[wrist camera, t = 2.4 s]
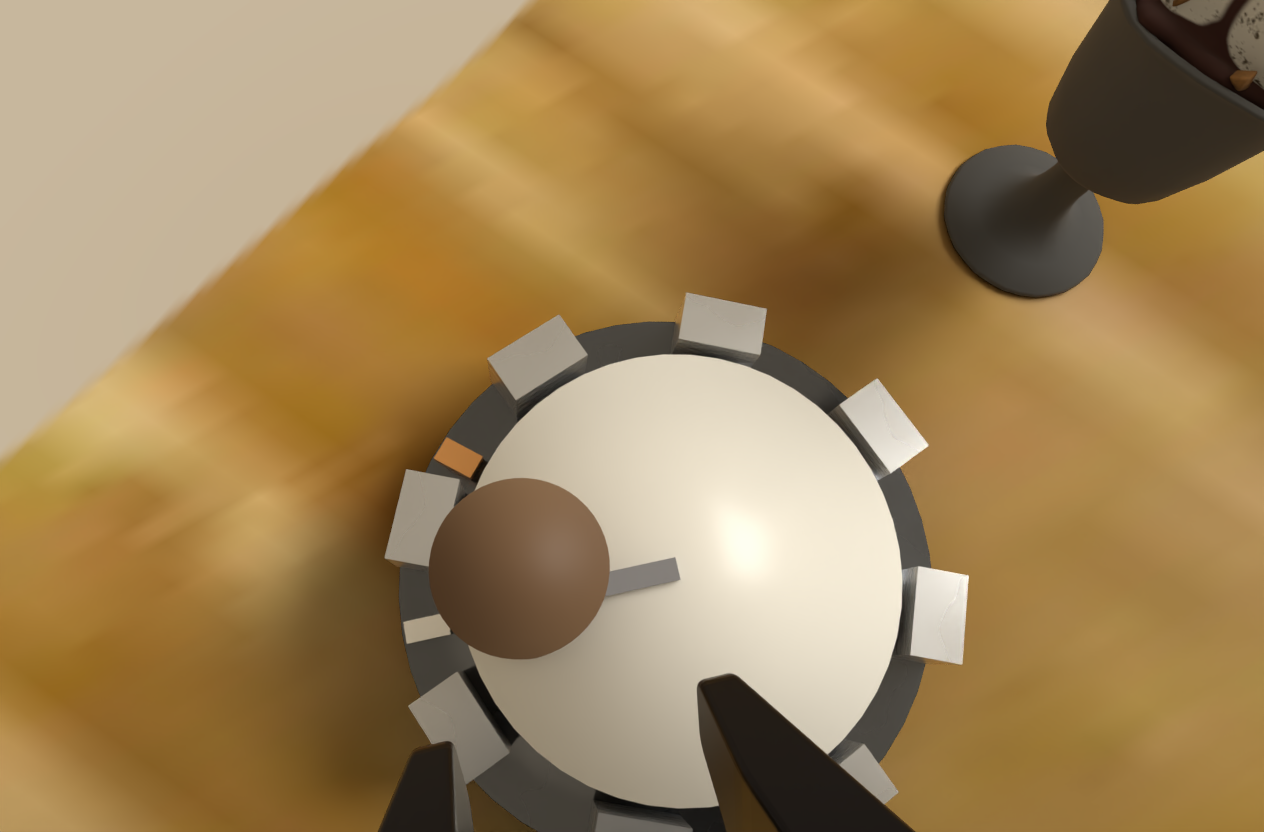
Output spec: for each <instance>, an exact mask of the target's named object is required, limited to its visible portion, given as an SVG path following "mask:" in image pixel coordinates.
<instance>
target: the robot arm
mask: <svg viewBox="0 0 1264 832" xmlns="http://www.w3.org/2000/svg"><path fill="white" fill-rule="evenodd" d="M697 704H698V720H699V733H700V740H701V745H702V749H703V753H704V757H705V760H706V763H707V767H708V770H709V774H710V777H711V780H712V784H713V787H714V790H715V794H716V797H717V801H718V804H719V807H720V811H721V814H722V817H723V821H724V824H725V828H726V831H727V832H915V831H914V830H913V829H912V828H911V827H909V826H908V825H907V824H906V823H905V822H904V821H903V820H901V819H900V818H899V817H898V816H897V815H896V814H895V813H894V812H892V811H891V810H890V809H889V808H888V807H887V806H886V805H884V804H883V803H882V802H881V801H880V800H879V799H878V798H876V797H875V796H874V795H873V794H872V793H871V792H870V791H868V790H867V789H866V788H865V787H864V786H863V785H862V784H861V783H859V782H858V781H857V780H856V779H855V778H854V777H853V776H851V775H850V774H849V773H848V772H847V771H846V770H845V769H843V768H842V767H841V766H840V765H839V764H838V763H837V762H835V761H834V760H833V759H832V758H831V757H830V756H829V755H827V754H826V753H825V752H824V751H823V750H822V749H821V748H820V747H818V746H817V745H816V744H815V743H814V742H813V741H812V740H810V739H809V738H808V737H807V736H806V735H805V734H804V733H802V732H801V731H800V730H799V729H798V728H797V727H796V726H794V725H793V724H792V723H791V722H790V721H789V720H788V719H787V718H785V717H784V716H783V715H782V714H781V713H780V712H779V711H777V710H776V709H775V708H774V707H773V706H772V705H771V704H769V703H768V702H767V701H766V700H765V699H764V698H763V697H761V696H760V695H759V694H758V693H757V692H756V691H755V690H753V689H752V688H751V687H750V686H749V685H748V684H747V683H746V682H744V681H743V680H742V679H741V678H740V677H739V676H737V675H735V674H732V673H726V674H722V675H718V676H714V677H710V678H705V679H702V680H701V681H699V683H698V685H697ZM378 832H474V828H473V821H472V813H471V807H470V801H469V796H468V792H467V788H466V784H465V781H464V777H463V773H462V770H461V766H460V762H459V759H458V755H457V751H456V748H455V746H454V744H453V743H452V742H450V741H443V742H439V743H435V744H431V745H427V746H422V747H419V748H416V749H415V750H414V751H413V752H412V753H411V754H410V756H409V758H408V761H407V763H406V765H405V768H404V770H403V773H402V775H401V777H400V780H399V782H398V785H397V787H396V789H395V792H394V794H393V796H392V799H391V801H390V804H389V806H388V808H387V811H386V813H385V816H384V818H383V820H382V823H381V825H380V828H379V830H378Z"/></svg>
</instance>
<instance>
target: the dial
mask: <svg viewBox="0 0 1264 832" xmlns="http://www.w3.org/2000/svg"><path fill="white" fill-rule="evenodd" d="M429 583H430V589H431V593H432V597H433V600H434V602H435V605H436V607H437V610H438V611H439V613H440V615H441V617H442V619H443V620H444V621H445V623H446V624H447V625H448V627H449V628H450V629H451V630H452V631H453V632H454V633H455V634H456V635H457V636H458V637H459V638H460V639H461V640H463V641H464V642H465V643H466V644H468V646H469V649H470V651H471V654H472V657H473V659H474V662H475V664H476V667H477V669H478V672H479V675H480V677H481V678H482V680H483V682H484V684H485V686H486V688H487V689H488V691H489V693H490V695H491V697H492V698H493V700H494V702H495V704H496V705H497V706H498V708H499V709H500V710H501V712H502V713H503V714H504V716H505V717H506V718H507V720H508V721H509V722H510V724H511V725H512V726H513V728H514V729H515V730H516V731H517V732H518V733H519V734H520V735H521V736H522V737H523V738H524V739H525V740H526V741H527V742H528V743H529V744H530V745H531V746H532V747H533V748H534V749H535V750H536V751H537V752H538V753H539V754H541V755H542V756H543V757H544V758H546V759H547V760H548V761H550V762H551V763H552V764H553V765H555V766H556V767H557V768H559V769H560V770H561V771H563V772H565V773H566V774H568V775H570V776H572V777H573V778H575V779H577V780H579V781H580V782H582V783H584V784H586V785H587V786H589V787H592V788H594V789H597V790H599V791H602V792H604V793H607V794H609V795H612V796H614V797H617V798H620V799H624V800H628V801H632V802H636V803H640V804H644V805H649V806H659V807H669V808H703V807H714V806H719V804H718V801H717V797H716V794H715V790H714V787H713V784H712V780H711V777H710V774H709V770H708V767H707V763H706V760H705V757H704V753H703V749H702V745H701V740H700V733H699V720H698V704H697V685H698V683H699V681H701V680H702V679H705V678H710V677H714V676H718V675H722V674H726V673H732V674H735V675H737V676H739V677H740V678H741V679H742V680H743V681H744V682H746V683H747V684H748V685H749V686H750V687H751V688H752V689H753V690H755V691H756V692H757V693H758V694H759V695H760V696H761V697H763V698H764V699H765V700H766V701H767V702H768V703H769V704H771V705H772V706H773V707H774V708H775V709H776V710H777V711H779V712H780V713H781V714H782V715H783V716H784V717H785V718H787V719H788V720H789V721H790V722H791V723H792V724H793V725H794V726H796V727H797V728H798V729H799V730H800V731H801V732H802V733H804V734H805V735H806V736H807V737H808V738H809V739H810V740H812V741H813V742H814V743H815V744H816V745H817V746H818V747H820V748H821V749H822V750H823V751H824V752H825V753H826V754H828V753H830V752H831V751H832V750H833V749H834V748H835V747H836V746H837V745H838V744H839V743H840V742H841V741H842V740H843V739H844V738H845V737H846V736H847V734H848V733H849V732H850V731H851V729H852V728H853V727H854V726H855V725H856V723H857V722H858V721H859V720H860V718H861V717H862V716H863V714H864V712H865V711H866V709H867V707H868V706H869V704H870V702H871V701H872V699H873V697H874V696H875V694H876V693H877V691H878V688H879V686H880V684H881V681H882V679H883V677H884V675H885V672H886V670H887V668H888V666H889V663H890V659H891V656H892V652H893V649H894V645H895V642H896V639H897V634H898V627H899V621H900V615H901V608H902V569H901V559H900V549H899V545H898V540H897V536H896V532H895V527H894V523H893V519H892V517H891V514H890V511H889V508H888V505H887V503H886V500H885V497H884V494H883V492H882V490H881V488H880V486H879V484H878V482H877V480H876V478H875V476H874V474H873V472H872V470H871V469H870V467H869V466H868V464H867V463H866V461H865V460H864V458H863V456H862V455H861V453H860V452H859V450H858V449H857V447H856V446H855V445H854V443H853V442H852V441H851V440H850V439H849V438H848V436H847V435H846V434H845V433H844V432H843V431H842V429H841V428H840V427H839V426H838V425H837V424H836V423H835V422H834V421H833V420H832V419H831V418H830V417H829V416H828V415H827V414H825V413H824V412H823V411H822V410H821V409H820V408H819V407H818V406H817V405H816V404H814V403H813V402H811V401H810V400H809V399H807V398H806V397H804V396H803V395H802V394H800V393H799V392H797V391H796V390H795V389H793V388H791V387H789V386H788V385H786V384H784V383H782V382H780V381H779V380H777V379H775V378H773V377H771V376H769V375H767V374H764V373H762V372H759V371H757V370H754V369H752V368H749V367H747V366H744V365H741V364H737V363H733V362H729V361H726V360H722V359H718V358H711V357H704V356H696V355H665V354H663V355H655V356H646V357H638V358H633V359H629V360H625V361H621V362H617V363H613V364H609V365H606V366H604V367H601V368H599V369H596V370H594V371H591V372H589V373H586V374H584V375H582V376H580V377H578V378H576V379H574V380H573V381H571V382H569V383H567V384H565V385H563V386H562V387H560V388H558V389H557V390H556V391H554V392H553V393H552V394H550V395H549V396H547V397H546V398H545V399H543V400H542V401H541V402H539V403H538V404H537V405H536V406H534V407H533V408H532V409H531V410H530V411H529V412H528V413H527V414H526V415H525V416H524V417H523V418H522V419H521V420H520V421H519V422H518V423H517V424H516V425H515V426H514V427H513V429H512V430H511V431H510V432H509V434H508V435H507V436H506V437H505V438H504V440H503V441H502V442H501V443H500V445H499V446H498V448H497V449H496V451H495V452H494V454H493V456H492V457H491V459H490V461H489V462H488V464H487V466H486V467H485V469H484V471H483V473H482V475H481V477H480V480H479V482H478V484H477V486H476V489H475V491H473V492H472V493H470V494H469V495H467V496H466V497H465V498H463V499H462V500H461V501H460V502H459V503H458V504H457V505H456V506H455V507H454V508H453V509H452V510H451V511H450V512H449V514H448V515H447V516H446V517H445V519H444V521H443V522H442V524H441V526H440V527H439V529H438V531H437V534H436V536H435V538H434V541H433V545H432V548H431V552H430V559H429Z"/></svg>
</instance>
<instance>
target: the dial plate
mask: <svg viewBox="0 0 1264 832" xmlns="http://www.w3.org/2000/svg"><path fill="white" fill-rule="evenodd" d="M766 312H767V309H765V308H760V307H755V306H751V305H746V304H741V303H736V302H731V301H726V300H721V299H716V298H711V297H706V296H701V295H696V294H691V293H686V295H685V297H684V300H683V302H682V304H681V307H680V309H679V312H678V314H677V316H676V319H675V322H641V323H632V324H623V325H615V326H611V327H607V328H603V329H599V330H595V331H591V332H586V333H583V334H580V335H578V336H574V335H573V333H572V332H571V330H570V329H569V328H568V326H567V325H566V323H565V322H564V321H563V319H562V318H561V316H560V315H557V316H556V317H554V318H552V319H551V320H549V321H548V322H546V323H544V324H543V325H541V326H539V327H538V328H536V329H535V330H533V331H531V332H530V333H528V334H526V335H525V336H523V337H521V338H520V339H518V340H517V341H515V342H513V343H512V344H510V345H508V346H507V347H505V348H504V349H502V350H500V351H499V352H497V353H495V354H494V355H492V356H491V357H489V358H487V361H488V367H489V373H490V380H491V382H492V385H491V386H490V387H489V388H488V389H487V390H486V391H484V392H483V393H482V394H481V395H480V396H479V397H478V398H477V399H476V400H475V401H474V402H473V403H472V404H471V405H470V406H469V407H468V409H467V410H466V411H465V412H464V413H463V415H462V416H461V417H460V418H459V419H458V421H457V422H456V423H455V424H454V425H453V427H452V428H451V429H450V431H449V432H448V434H447V435H446V437H445V439H444V440H443V442H442V443H441V445H440V447H439V448H438V450H437V451H436V453H435V454H434V456H433V458H432V459H431V462H430V464H429V466H428V468H427V470H426V472H425V473H424V472H418V471H413V470H408V469H406V472H405V476H404V480H403V485H402V489H401V493H400V497H399V501H398V505H397V509H396V513H395V517H394V521H393V525H392V529H391V533H390V538H389V542H388V546H387V550H386V554H385V559H386V560H388V561H389V562H391V563H392V564H394V565H395V566H397V567H400V581H399V604H400V615H401V625H402V635H403V639H404V644H405V648H406V652H407V657H408V661H409V666H410V670H411V673H412V676H413V678H414V681H415V684H416V686H417V689H418V692H419V694H420V698H419V699H417V700H416V701H414V702H413V703H411V704H410V705H409V706H408V707H409V709H410V710H411V712H412V713H413V715H414V717H415V718H416V720H417V721H418V723H419V725H420V726H421V728H422V729H423V731H424V732H425V734H426V736H427V737H428V739H429V740H430V742H431V744H435V743H439V742H443V741H450V742H452V743H453V744H454V746H455V748H456V751H457V755H458V759H459V762H460V766H461V770H462V773H463V777H464V781H465V784H468V783H469V782H471V781H472V780H474V781H475V782H476V783H477V784H478V785H479V786H480V787H481V788H482V789H483V790H484V791H485V792H486V793H487V794H488V795H489V796H490V798H491V799H493V800H494V801H495V802H497V803H498V804H499V805H500V806H502V807H503V808H504V809H505V810H507V811H508V812H509V813H511V814H512V815H513V816H514V817H516V818H517V819H518V820H520V821H521V822H522V823H524V824H526V825H527V826H529V827H531V828H533V829H534V830H536V831H538V832H727V831H726V828H725V824H724V821H723V817H722V814H721V811H720V807H719V806H714V807H703V808H669V807H659V806H649V805H644V804H640V803H636V802H632V801H628V800H624V799H620V798H617V797H614V796H612V795H609V794H607V793H604V792H602V791H599V790H597V789H594V788H592V787H589V786H587V785H586V784H584V783H582V782H580V781H579V780H577V779H575V778H573V777H572V776H570V775H568V774H566V773H565V772H563V771H561V770H560V769H559V768H557V767H556V766H555V765H553V764H552V763H551V762H550V761H548V760H547V759H546V758H544V757H543V756H542V755H541V754H539V753H538V752H537V751H536V750H535V749H534V748H533V747H532V746H531V745H530V744H529V743H528V742H527V741H526V740H525V739H524V738H523V737H522V736H521V735H520V734H519V733H518V732H517V731H516V730H515V729H514V728H513V726H512V725H511V724H510V722H509V721H508V720H507V718H506V717H505V716H504V714H503V713H502V712H501V710H500V709H499V708H498V706H497V705H496V704H495V702H494V700H493V698H492V697H491V695H490V693H489V691H488V689H487V688H486V686H485V684H484V682H483V680H482V678H481V677H480V675H479V672H478V669H477V667H476V664H475V662H474V659H473V657H472V654H471V651H470V649H469V646H468V644H466V643H465V642H464V641H463V640H461V639H460V638H459V637H458V636H457V635H456V634H455V633H454V632H453V631H452V630H451V629H450V628H449V627H448V625H447V624H446V623H445V621H444V620H443V619H442V617H441V615H440V613H439V611H438V610H437V607H436V605H435V602H434V600H433V597H432V593H431V589H430V583H429V559H430V552H431V548H432V545H433V541H434V538H435V536H436V534H437V531H438V529H439V527H440V526H441V524H442V522H443V521H444V519H445V517H446V516H447V515H448V514H449V512H450V511H451V510H452V509H453V508H454V507H455V506H456V505H457V504H458V503H459V502H460V501H461V500H462V499H463V498H465V497H466V496H467V495H469V494H470V493H472V492H473V491H475V489H476V486H477V484H478V482H479V480H480V477H481V475H482V473H483V471H484V469H485V467H486V466H487V464H488V462H489V461H490V459H491V457H492V456H493V454H494V452H495V451H496V449H497V448H498V446H499V445H500V443H501V442H502V441H503V440H504V438H505V437H506V436H507V435H508V434H509V432H510V431H511V430H512V429H513V427H514V426H515V425H516V424H517V423H518V422H519V421H520V420H521V419H522V418H523V417H524V416H525V415H526V414H527V413H528V412H529V411H530V410H531V409H532V408H533V407H534V406H536V405H537V404H538V403H539V402H541V401H542V400H543V399H545V398H546V397H547V396H549V395H550V394H552V393H553V392H554V391H556V390H557V389H558V388H560V387H562V386H563V385H565V384H567V383H569V382H571V381H573V380H574V379H576V378H578V377H580V376H582V375H584V374H586V373H589V372H591V371H594V370H596V369H599V368H601V367H604V366H606V365H609V364H613V363H617V362H621V361H625V360H629V359H633V358H638V357H646V356H655V355H663V354H665V355H696V356H704V357H711V358H718V359H722V360H726V361H729V362H733V363H737V364H741V365H744V366H747V367H749V368H752V369H754V370H757V371H759V372H762V373H764V374H767V375H769V376H771V377H773V378H775V379H777V380H779V381H780V382H782V383H784V384H786V385H788V386H789V387H791V388H793V389H795V390H796V391H797V392H799V393H800V394H802V395H803V396H804V397H806V398H807V399H809V400H810V401H811V402H813V403H814V404H816V405H817V406H818V407H819V408H820V409H821V410H822V411H823V412H824V413H825V414H827V415H828V416H829V417H830V418H831V419H832V420H833V421H834V422H835V423H836V424H837V425H838V426H839V427H840V428H841V429H842V431H843V432H844V433H845V434H846V435H847V436H848V438H849V439H850V440H851V441H852V442H853V443H854V445H855V446H856V447H857V449H858V450H859V452H860V453H861V455H862V456H863V458H864V460H865V461H866V463H867V464H868V466H869V467H870V469H871V470H872V472H873V474H874V476H875V478H876V480H877V482H878V484H879V486H880V488H881V490H882V492H883V494H884V497H885V500H886V503H887V505H888V508H889V511H890V514H891V517H892V519H893V523H894V527H895V532H896V536H897V540H898V545H899V549H900V559H901V569H902V608H901V615H900V621H899V627H898V634H897V639H896V642H895V645H894V649H893V652H892V656H891V659H890V663H889V666H888V668H887V670H886V672H885V675H884V677H883V679H882V681H881V684H880V686H879V688H878V691H877V693H876V694H875V696H874V697H873V699H872V701H871V702H870V704H869V706H868V707H867V709H866V711H865V712H864V714H863V716H862V717H861V718H860V720H859V721H858V722H857V723H856V725H855V726H854V727H853V728H852V729H851V731H850V732H849V733H848V734H847V736H846V737H845V738H844V739H843V740H842V741H841V742H840V743H839V744H838V745H837V746H836V747H835V748H834V749H833V750H832V751H831V752H830V753H828V754H827V755H829V756H830V757H831V758H832V759H833V760H834V761H835V762H837V763H838V764H839V765H840V766H841V767H842V768H843V769H845V770H846V771H847V772H848V773H849V774H850V775H851V776H853V777H854V778H855V779H856V780H857V781H858V782H859V783H861V784H862V785H863V786H864V787H865V788H866V789H867V790H868V791H870V792H871V793H872V794H873V795H874V796H875V797H876V798H878V799H879V800H880V801H881V802H882V803H883V804H885V803H886V802H887V801H889V800H890V799H891V798H892V797H893V796H895V795H896V794H897V793H898V790H897V789H896V788H895V786H894V785H893V783H892V782H891V781H890V779H889V778H888V776H887V775H886V774H885V772H884V771H883V769H882V768H881V767H880V765H879V763H880V761H881V760H882V759H883V758H884V756H885V755H886V753H887V752H888V750H889V748H890V747H891V745H892V743H893V742H894V740H895V738H896V736H897V735H898V733H899V731H900V730H901V728H902V726H903V725H904V723H905V720H906V718H907V715H908V713H909V711H910V708H911V706H912V704H913V701H914V699H915V697H916V694H917V692H918V689H919V685H920V682H921V678H922V674H923V671H924V667H925V664H955V665H962V660H963V646H964V632H965V618H966V604H967V590H968V577H969V576H968V575H962V574H957V573H952V572H946V571H941V570H936V569H931V564H930V554H929V549H928V545H927V541H926V537H925V532H924V528H923V524H922V519H921V517H920V514H919V511H918V508H917V506H916V503H915V500H914V497H913V495H912V492H911V489H910V487H909V485H908V483H907V481H906V479H905V477H904V475H903V473H902V471H901V469H900V466H902V465H903V464H904V463H906V462H907V461H908V460H910V459H911V458H912V457H914V456H915V455H917V454H918V453H919V452H921V451H922V450H923V449H925V448H926V447H927V446H929V445H928V444H927V442H926V441H925V440H924V438H923V437H922V436H921V435H920V433H919V432H918V431H917V429H916V428H915V427H914V425H913V424H912V423H911V421H910V420H909V419H908V418H907V416H906V415H905V414H904V412H903V411H902V410H901V408H900V407H899V406H898V405H897V403H896V402H895V401H894V399H893V398H892V397H891V395H890V394H889V393H888V392H887V390H886V389H885V388H884V386H883V385H882V384H881V382H880V381H879V380H878V378H877V379H875V380H874V381H872V382H871V383H869V384H868V385H867V386H865V387H864V388H862V389H861V390H859V391H858V392H857V393H855V394H854V395H852V396H851V397H849V398H847V397H846V396H845V395H844V394H842V393H841V392H840V391H839V390H838V389H837V388H836V387H835V386H834V385H833V384H832V383H830V382H829V381H828V380H826V379H825V378H824V377H822V376H821V375H819V374H818V373H817V372H815V371H814V370H813V369H811V368H810V367H808V366H807V365H806V364H804V363H803V362H801V361H799V360H797V359H795V358H794V357H792V356H790V355H788V354H786V353H784V352H783V351H781V350H779V349H777V348H775V347H773V346H771V345H768V344H766V343H763V342H762V340H763V333H764V326H765V319H766Z"/></svg>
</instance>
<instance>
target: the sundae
mask: <svg viewBox="0 0 1264 832" xmlns="http://www.w3.org/2000/svg"><path fill="white" fill-rule="evenodd" d="M1046 127H1047V134H1048V137H1049V140H1050V143H1051V145H1052V148H1053V151H1054V154H1055V156H1056V158H1055V157H1053V156H1051V155H1050V154H1048V153H1046V152H1043V151H1040V150H1037V149H1034V148H1031V147H1025V146H1020V145H1007V146H999V147H994V148H990V149H985V150H983V151H981V152H980V153H978V154H976V155H974V156H972V157H971V158H970V159H968V160H967V161H966V162H964V163H963V164H962V165H961V166H960V167H959V169H958V170H957V171H956V173H955V174H954V176H953V178H952V180H951V182H950V184H949V185H948V187H947V192H946V198H945V212H944V218H945V222H946V226H947V229H948V233H949V236H950V238H951V241H952V243H953V246H954V248H955V249H956V250H957V252H958V253H959V255H960V256H961V257H962V259H963V260H964V261H965V263H966V264H967V265H968V266H969V267H970V268H971V269H972V270H973V271H974V273H976V274H977V275H979V276H980V277H981V278H983V279H984V280H986V281H987V282H989V283H990V284H992V285H994V286H996V287H998V288H999V289H1001V290H1003V291H1006V292H1010V293H1014V294H1017V295H1022V296H1029V297H1044V296H1051V295H1055V294H1059V293H1063V292H1066V291H1068V290H1069V289H1071V288H1073V287H1074V286H1076V285H1078V284H1079V283H1080V282H1081V281H1083V280H1084V279H1085V278H1086V277H1087V276H1089V274H1090V272H1091V271H1092V269H1093V268H1094V266H1095V264H1096V263H1097V260H1098V258H1099V256H1100V253H1101V251H1102V242H1103V217H1102V214H1101V211H1100V207H1099V205H1098V202H1097V200H1096V198H1095V196H1094V193H1096V194H1099V195H1101V196H1104V197H1107V198H1110V199H1113V200H1116V201H1120V202H1123V203H1127V204H1140V203H1146V202H1152V201H1158V200H1160V199H1163V198H1165V197H1168V196H1170V195H1172V194H1175V193H1177V192H1180V191H1182V190H1185V189H1187V188H1190V187H1192V186H1195V185H1197V184H1200V183H1202V182H1205V181H1207V180H1209V179H1211V178H1213V177H1215V176H1217V175H1218V174H1220V173H1222V172H1224V171H1226V170H1228V169H1230V168H1232V167H1234V166H1236V165H1238V164H1239V163H1241V162H1243V161H1245V160H1247V159H1249V158H1251V157H1253V156H1255V155H1257V154H1259V153H1260V152H1262V151H1264V0H1109V2H1108V3H1107V5H1106V6H1105V8H1104V9H1103V11H1102V12H1101V14H1100V15H1099V17H1098V19H1097V20H1096V22H1095V23H1094V25H1093V26H1092V28H1091V29H1090V31H1089V32H1088V34H1087V35H1086V37H1085V38H1084V40H1083V41H1082V43H1081V44H1080V46H1079V47H1078V49H1077V50H1076V52H1075V53H1074V55H1073V57H1072V59H1071V61H1070V63H1069V65H1068V67H1067V69H1066V71H1065V73H1064V75H1063V77H1062V79H1061V81H1060V83H1059V85H1058V87H1057V89H1056V90H1055V92H1054V95H1053V97H1052V99H1051V101H1050V103H1049V108H1048V113H1047V121H1046ZM1093 192H1094V193H1093Z"/></svg>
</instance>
